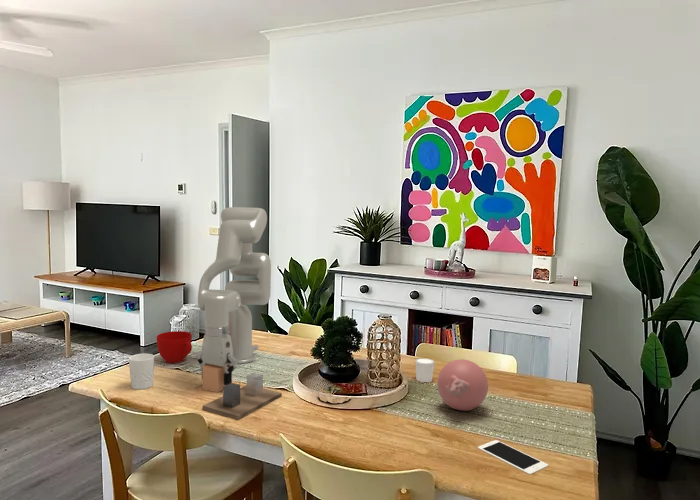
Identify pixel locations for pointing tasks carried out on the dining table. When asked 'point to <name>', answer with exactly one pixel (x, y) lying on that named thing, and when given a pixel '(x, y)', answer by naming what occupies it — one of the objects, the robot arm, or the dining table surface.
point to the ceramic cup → (174, 345)
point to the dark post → (231, 395)
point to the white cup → (141, 370)
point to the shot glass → (424, 369)
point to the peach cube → (213, 378)
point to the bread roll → (331, 389)
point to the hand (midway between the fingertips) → (216, 381)
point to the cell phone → (513, 457)
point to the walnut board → (242, 403)
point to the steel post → (254, 384)
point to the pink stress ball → (462, 384)
